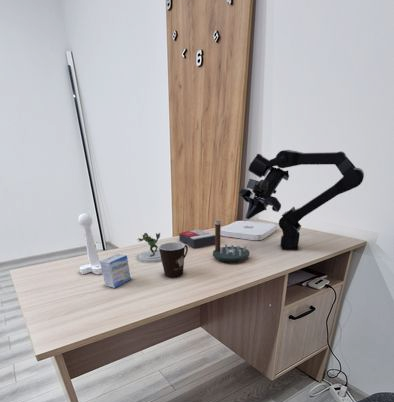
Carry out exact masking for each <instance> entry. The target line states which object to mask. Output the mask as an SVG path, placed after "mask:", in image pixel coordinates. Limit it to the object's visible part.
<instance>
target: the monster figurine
mask: <svg viewBox="0 0 394 402" xmlns="http://www.w3.org/2000/svg"><path fill="white" fill-rule="evenodd" d="M141 236H142V238H141V237H138V238H137V239H136V241H137V242H139V243H142V242H143V241H145V243H147V244H148V246H149V250H145V251H143V252H141V253H139V254H138V256H137V258H138V260H139V261H141V262H145V263H157V262H162V260H161V255H160V250H159V246H158V245H157V242H158V241H159V239H160V237H161V232H159V233H155V238H156V239H155V238H153V237H152V236H151V235H149V234H148V232H144V234H141ZM154 248H155V249H154Z"/></svg>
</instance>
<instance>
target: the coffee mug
mask: <svg viewBox="0 0 394 402" xmlns="http://www.w3.org/2000/svg"><path fill="white" fill-rule="evenodd" d="M158 250H160V255H161V260H162V261H161V263H162V268H163V272H164V273H163V274H164V276H165V277H166V278H168V279H177V278H181V277H183V275H184V266H185V258H186V256H187V255H188V250H189V248H188V245H186V244H185V243H183V242H176V241H171V242H164V243H161V244H160V245H159V246H158Z"/></svg>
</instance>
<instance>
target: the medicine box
mask: <svg viewBox="0 0 394 402" xmlns="http://www.w3.org/2000/svg"><path fill="white" fill-rule="evenodd" d="M99 261H100V264H101V269H102V277H103V282H104V286H105V287H109V288H112V289H116V288H118V287H120V286H121V285H123V284H125V283H127V282H130V281H131V280H132V277H131V271H130V265H129V260H128V256H127V255H126V254H121V253H117V254H114V255H112V256H110V257H109V256H108V257H106V258H104V259H102V260H99Z"/></svg>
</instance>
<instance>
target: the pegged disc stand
mask: <svg viewBox="0 0 394 402" xmlns="http://www.w3.org/2000/svg"><path fill="white" fill-rule="evenodd" d="M221 225H222V221H220V220H215V221H214V235H215V244H214V250H213V251H212V257H213V258H214V259H216V260H218V259H219V260H224V261H238V260H243V259H244V260H246V259H248V258H249V257H250V254H251V253H250V250H248V249H247V246H246V245H244V246H243V247H241V246H240V245H239V244H237V246H234V244H231V245H230V246H228V244H227V243H225V244H224V246H222V247H221V235H220V233H221V228H222V227H221ZM219 260H218V261H219ZM244 260H243V261H244Z"/></svg>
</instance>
